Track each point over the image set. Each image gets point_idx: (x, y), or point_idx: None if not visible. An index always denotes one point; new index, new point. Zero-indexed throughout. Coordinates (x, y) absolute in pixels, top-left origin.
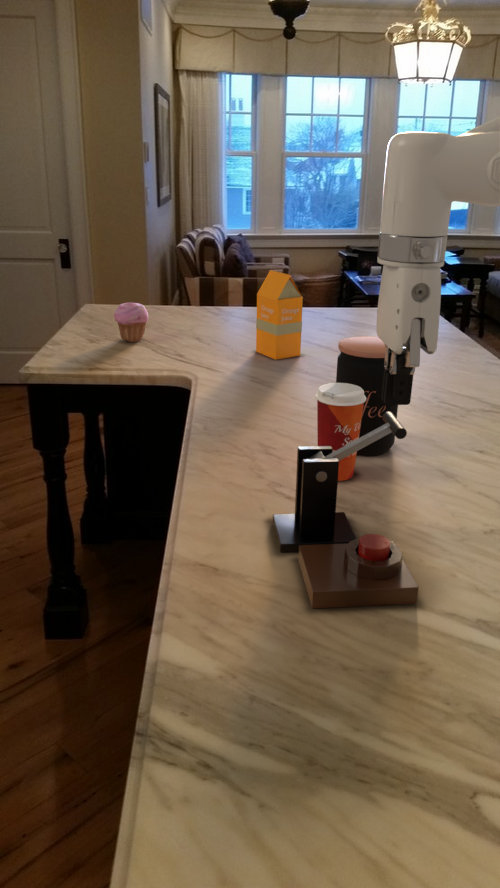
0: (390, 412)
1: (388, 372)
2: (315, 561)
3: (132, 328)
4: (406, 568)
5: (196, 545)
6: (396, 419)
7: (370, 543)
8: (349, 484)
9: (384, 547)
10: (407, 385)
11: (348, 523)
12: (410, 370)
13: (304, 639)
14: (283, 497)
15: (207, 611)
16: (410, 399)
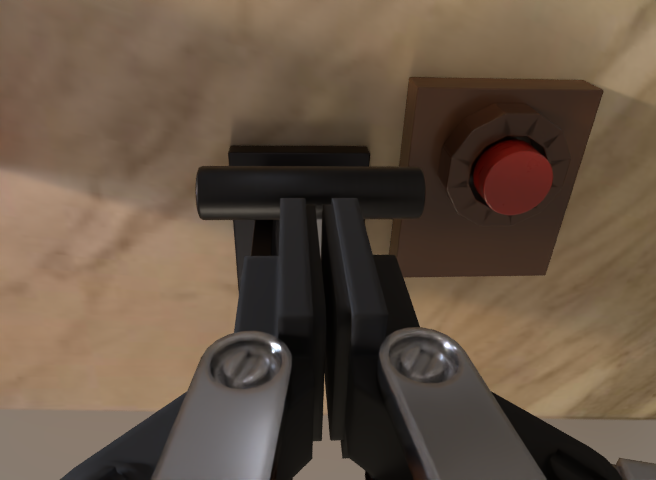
0: (210, 198)
1: (314, 438)
2: (457, 259)
3: None
4: (531, 93)
5: None
6: (309, 196)
7: (523, 195)
8: (15, 83)
9: (549, 171)
10: (409, 302)
11: (287, 155)
12: (499, 404)
13: (595, 275)
14: (123, 254)
15: (491, 376)
16: (358, 206)
